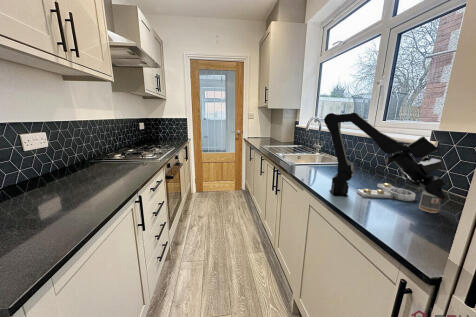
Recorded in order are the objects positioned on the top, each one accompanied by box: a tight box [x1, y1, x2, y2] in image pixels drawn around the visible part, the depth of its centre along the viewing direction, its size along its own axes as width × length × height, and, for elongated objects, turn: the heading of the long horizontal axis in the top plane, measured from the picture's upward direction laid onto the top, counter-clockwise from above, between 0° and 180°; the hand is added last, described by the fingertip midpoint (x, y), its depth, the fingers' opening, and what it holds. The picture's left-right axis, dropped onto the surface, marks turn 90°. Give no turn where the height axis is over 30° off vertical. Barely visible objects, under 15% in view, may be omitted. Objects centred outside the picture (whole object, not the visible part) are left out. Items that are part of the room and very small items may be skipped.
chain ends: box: [356, 182, 416, 202], centre depth 96 cm, size 23×18×3 cm
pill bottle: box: [418, 190, 442, 214], centre depth 77 cm, size 6×6×10 cm
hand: (436, 194), depth 76 cm, fingers open, 9 cm apart
